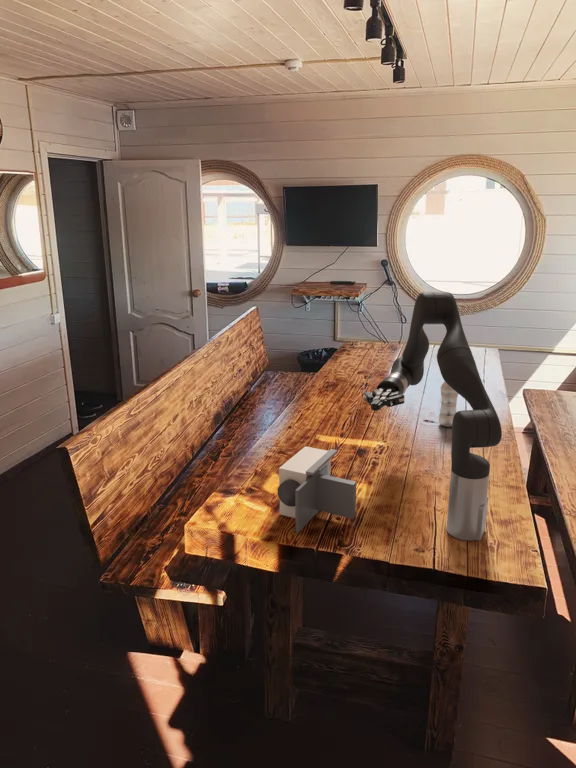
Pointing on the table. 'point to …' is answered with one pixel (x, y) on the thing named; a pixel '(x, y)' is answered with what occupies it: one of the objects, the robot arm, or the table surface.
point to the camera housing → (301, 474)
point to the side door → (324, 498)
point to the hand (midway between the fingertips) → (374, 407)
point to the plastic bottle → (447, 405)
